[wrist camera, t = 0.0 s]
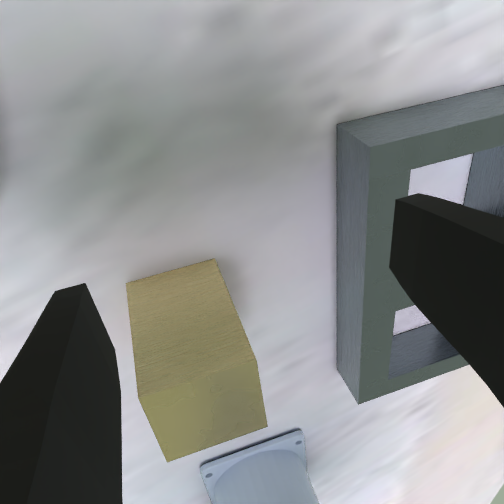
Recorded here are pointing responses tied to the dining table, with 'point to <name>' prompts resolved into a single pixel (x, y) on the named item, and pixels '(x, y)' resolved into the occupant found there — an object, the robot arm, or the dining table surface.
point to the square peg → (193, 360)
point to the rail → (381, 226)
